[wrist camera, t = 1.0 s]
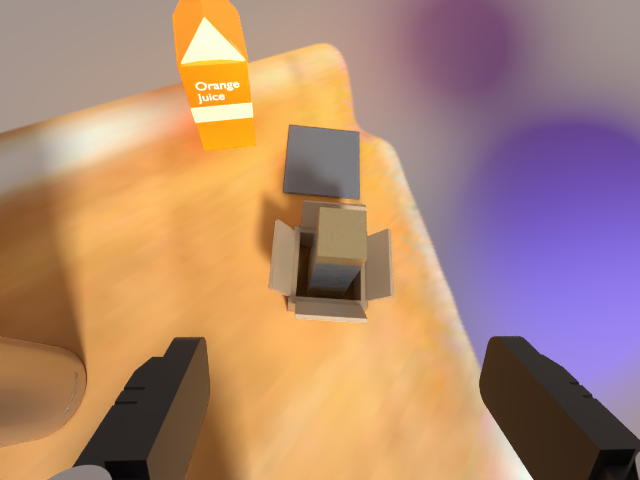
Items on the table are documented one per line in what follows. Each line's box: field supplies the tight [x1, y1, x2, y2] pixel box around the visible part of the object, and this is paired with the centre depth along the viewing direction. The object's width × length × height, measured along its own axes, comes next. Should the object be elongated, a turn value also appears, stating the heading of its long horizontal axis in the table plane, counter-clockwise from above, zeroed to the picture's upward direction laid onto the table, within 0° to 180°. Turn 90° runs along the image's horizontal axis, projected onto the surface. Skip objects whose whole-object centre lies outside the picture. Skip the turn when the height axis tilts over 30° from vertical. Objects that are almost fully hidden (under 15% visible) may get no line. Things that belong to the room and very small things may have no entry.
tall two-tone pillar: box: [307, 207, 367, 297], centre depth 38 cm, size 4×5×14 cm
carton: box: [268, 200, 394, 323], centre depth 41 cm, size 14×14×8 cm
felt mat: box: [283, 125, 360, 200], centre depth 52 cm, size 11×12×1 cm
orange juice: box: [173, 0, 256, 151], centre depth 44 cm, size 8×9×20 cm
